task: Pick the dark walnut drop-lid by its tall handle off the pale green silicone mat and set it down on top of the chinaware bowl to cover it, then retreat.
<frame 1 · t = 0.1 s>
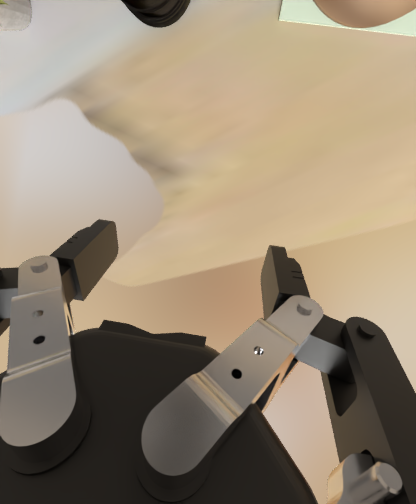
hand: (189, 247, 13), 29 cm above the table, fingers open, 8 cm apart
house plant: (20, 16, 32), on the table
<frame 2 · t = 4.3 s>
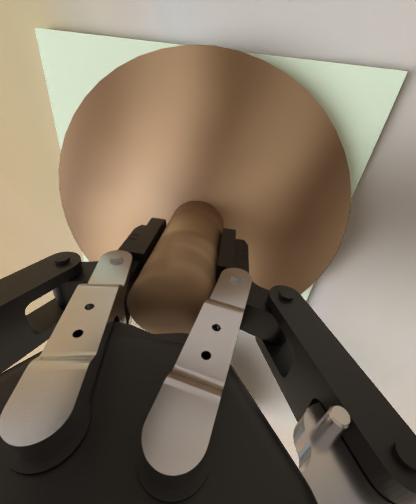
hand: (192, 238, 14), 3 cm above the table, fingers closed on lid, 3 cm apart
mat: (200, 214, 16), on the table
lid: (199, 218, 16), point 1 cm above the table, touching gripper, mat
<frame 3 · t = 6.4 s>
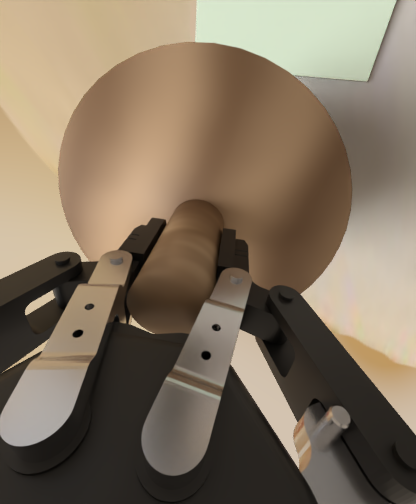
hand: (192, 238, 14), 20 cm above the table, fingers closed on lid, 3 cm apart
lid: (200, 217, 16), point 17 cm above the table, touching gripper
when the fingers open (11 cm above the table, at t = 8.7 s): lid drops 1 cm, resting on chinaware.
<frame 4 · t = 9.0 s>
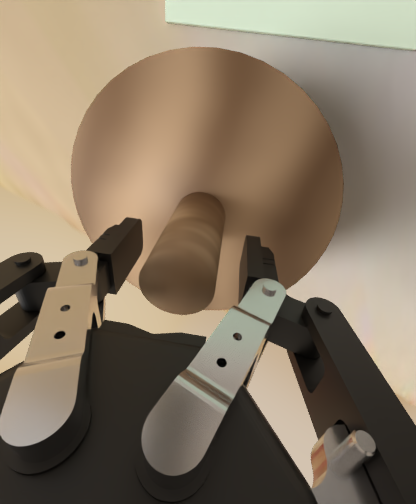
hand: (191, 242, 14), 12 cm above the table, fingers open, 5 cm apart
lid: (202, 209, 17), point 8 cm above the table, touching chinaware
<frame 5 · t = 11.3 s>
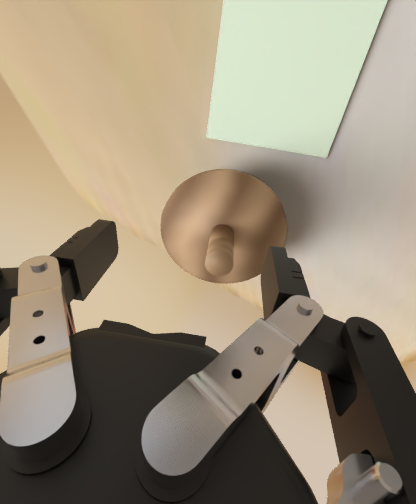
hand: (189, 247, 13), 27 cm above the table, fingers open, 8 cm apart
mat: (284, 73, 31), on the table
lid: (222, 231, 35), point 8 cm above the table, touching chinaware
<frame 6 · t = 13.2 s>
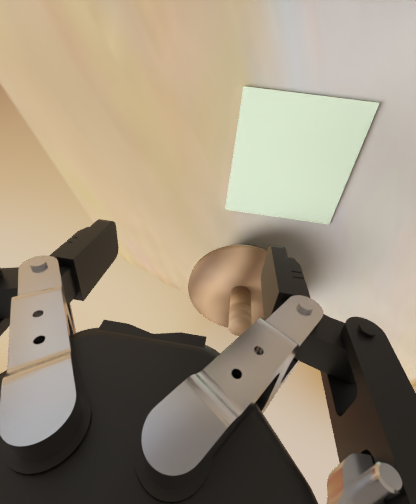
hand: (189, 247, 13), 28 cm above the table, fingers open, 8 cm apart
mat: (290, 162, 37), on the table
lid: (240, 289, 41), point 8 cm above the table, touching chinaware
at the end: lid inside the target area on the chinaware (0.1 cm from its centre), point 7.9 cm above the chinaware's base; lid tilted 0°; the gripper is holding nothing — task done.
